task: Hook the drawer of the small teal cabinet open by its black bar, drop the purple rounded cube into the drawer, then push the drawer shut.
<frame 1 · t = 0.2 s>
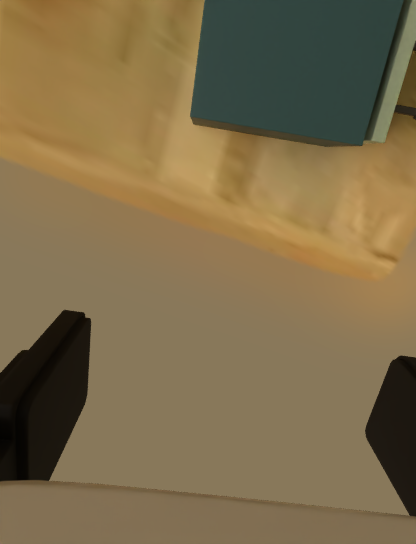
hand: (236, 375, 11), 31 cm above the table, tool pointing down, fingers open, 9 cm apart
small teal cabinet: (273, 69, 35), on the table
drawer: (338, 68, 31), point 5 cm above the table, slide at 1.0 cm
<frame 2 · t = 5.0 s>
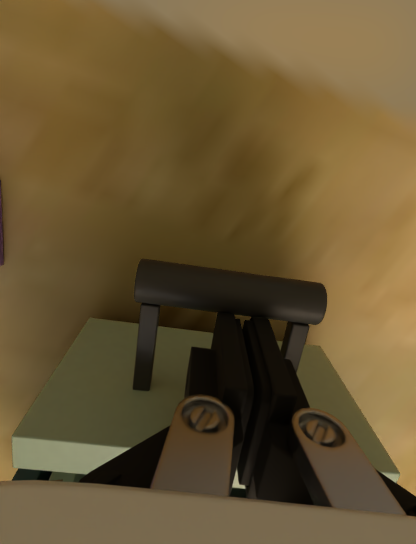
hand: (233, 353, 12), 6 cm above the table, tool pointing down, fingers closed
small teal cabinet: (181, 473, 21), on the table
drawer: (194, 463, 15), point 5 cm above the table, slide at 1.8 cm
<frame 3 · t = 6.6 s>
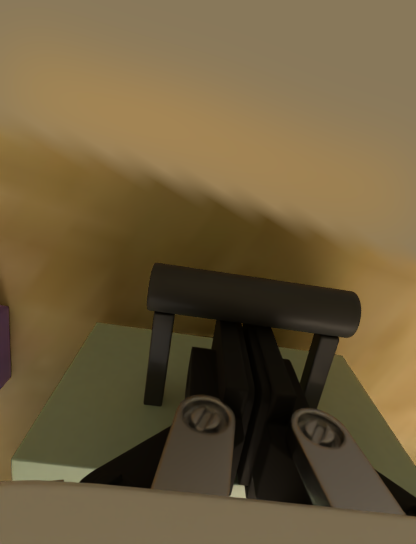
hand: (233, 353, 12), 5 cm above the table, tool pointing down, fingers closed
drawer: (207, 481, 14), point 5 cm above the table, slide at 7.8 cm
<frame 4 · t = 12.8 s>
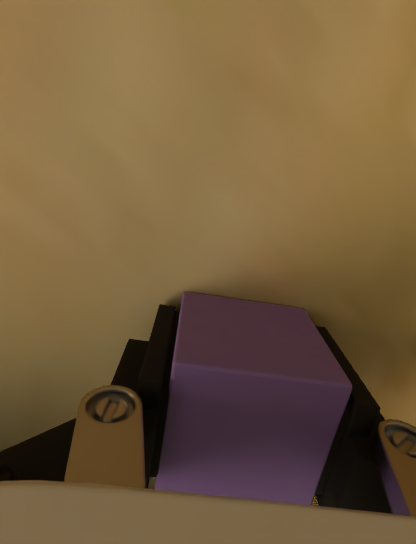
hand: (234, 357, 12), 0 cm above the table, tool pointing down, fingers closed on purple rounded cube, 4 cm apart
purple rounded cube: (233, 352, 12), on the table, touching gripper
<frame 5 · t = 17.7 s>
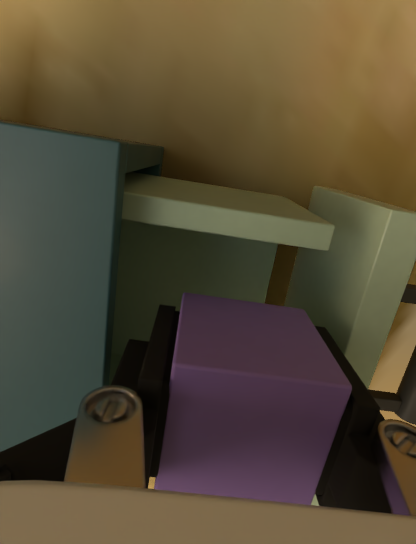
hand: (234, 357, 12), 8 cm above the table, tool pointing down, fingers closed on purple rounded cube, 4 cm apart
purple rounded cube: (233, 352, 12), point 7 cm above the table, touching gripper
small teal cabinet: (12, 249, 18), on the table
drawer: (231, 317, 15), point 5 cm above the table, slide at 7.3 cm
when the fingers open (7 cm above the table, at t = 23.0 s): purple rounded cube drops 1 cm, point 6 cm above the table.
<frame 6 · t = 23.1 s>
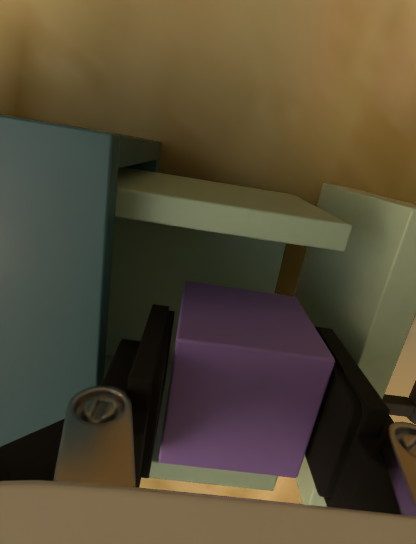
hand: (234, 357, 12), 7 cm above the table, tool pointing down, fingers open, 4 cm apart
purple rounded cube: (231, 337, 13), point 6 cm above the table
small teal cabinet: (5, 247, 18), on the table
drawer: (239, 319, 14), point 5 cm above the table, slide at 7.6 cm, touching gripper
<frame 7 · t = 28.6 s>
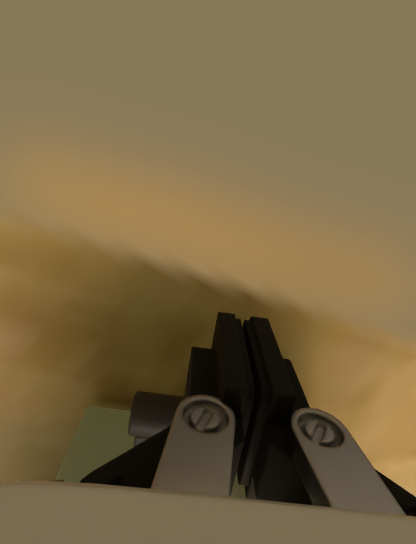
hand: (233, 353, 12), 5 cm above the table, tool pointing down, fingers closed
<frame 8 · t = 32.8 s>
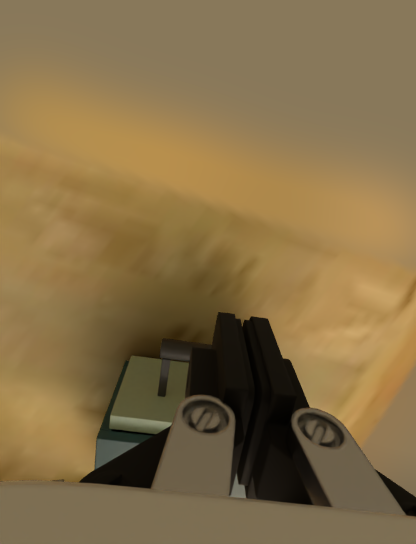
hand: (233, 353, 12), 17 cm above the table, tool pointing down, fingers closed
small teal cabinet: (183, 430, 34), on the table
drawer: (187, 433, 29), point 5 cm above the table, slide at 0.0 cm, touching small teal cabinet, purple rounded cube
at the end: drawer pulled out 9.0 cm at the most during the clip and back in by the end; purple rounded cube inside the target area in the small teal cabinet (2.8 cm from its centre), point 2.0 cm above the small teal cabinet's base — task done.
